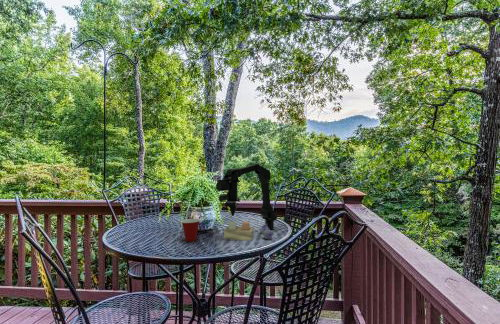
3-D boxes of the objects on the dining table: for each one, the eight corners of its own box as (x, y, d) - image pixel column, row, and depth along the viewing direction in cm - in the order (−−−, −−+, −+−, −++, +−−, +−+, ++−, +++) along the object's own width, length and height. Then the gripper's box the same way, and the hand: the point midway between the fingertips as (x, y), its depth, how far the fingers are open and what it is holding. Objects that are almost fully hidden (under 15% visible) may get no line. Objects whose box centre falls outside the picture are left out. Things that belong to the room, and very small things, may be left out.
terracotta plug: (243, 229, 188) (243, 221, 188) (249, 230, 188) (249, 221, 188) (242, 231, 184) (242, 223, 184) (248, 231, 184) (248, 223, 184)
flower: (256, 230, 178) (269, 220, 182) (252, 232, 186) (265, 223, 190) (265, 244, 177) (278, 234, 181) (261, 245, 184) (274, 236, 188)
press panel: (227, 233, 194) (227, 226, 194) (253, 234, 192) (253, 226, 192) (224, 239, 182) (224, 231, 182) (251, 240, 180) (251, 232, 180)
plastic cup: (191, 236, 188) (191, 216, 187) (203, 240, 181) (203, 219, 180) (176, 240, 179) (176, 219, 179) (189, 244, 172) (189, 222, 172)
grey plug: (229, 229, 189) (229, 221, 189) (236, 229, 189) (236, 221, 189) (228, 231, 185) (228, 222, 185) (235, 231, 185) (235, 222, 185)
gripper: (222, 187, 196) (222, 212, 197) (216, 191, 178) (216, 218, 178) (240, 188, 195) (240, 212, 196) (235, 192, 177) (235, 219, 177)
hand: (232, 215), depth 187 cm, fingers closed
